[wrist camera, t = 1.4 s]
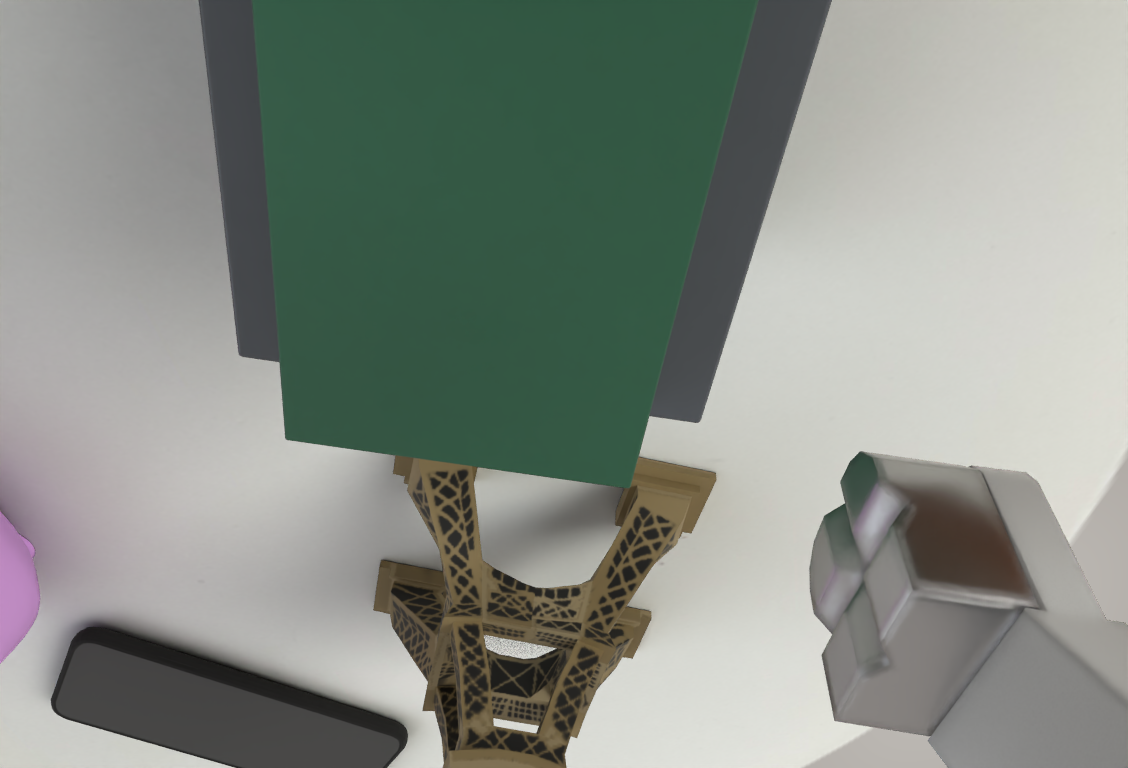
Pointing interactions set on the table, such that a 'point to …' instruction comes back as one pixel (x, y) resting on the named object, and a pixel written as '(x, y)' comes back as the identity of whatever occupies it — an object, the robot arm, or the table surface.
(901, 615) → the robot arm
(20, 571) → the teapot
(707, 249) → the grey stack
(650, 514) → the eiffel tower
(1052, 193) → the table surface
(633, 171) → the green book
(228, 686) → the smartphone
